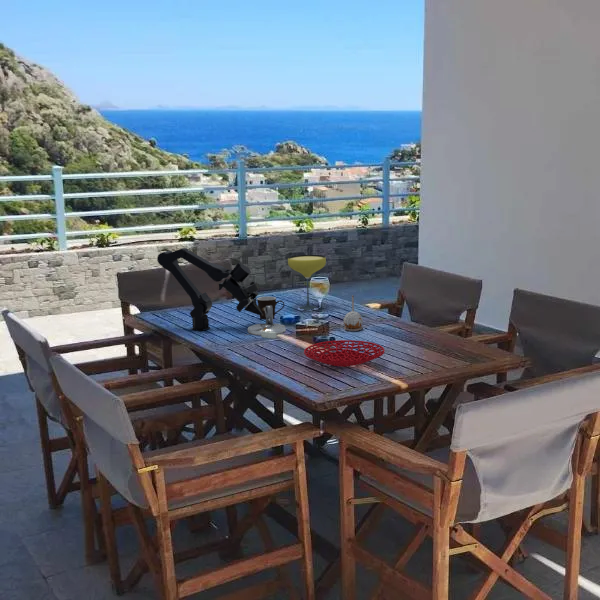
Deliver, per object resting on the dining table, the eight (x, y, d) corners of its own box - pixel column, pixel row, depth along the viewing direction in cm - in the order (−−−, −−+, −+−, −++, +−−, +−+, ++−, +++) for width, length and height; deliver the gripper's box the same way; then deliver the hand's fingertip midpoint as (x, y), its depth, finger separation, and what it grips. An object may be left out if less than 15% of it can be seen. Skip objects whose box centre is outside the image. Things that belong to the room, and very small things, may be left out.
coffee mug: (254, 321, 370) (253, 299, 368) (262, 317, 378) (261, 296, 376) (278, 322, 366) (277, 301, 364) (285, 318, 374) (285, 297, 372)
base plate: (233, 336, 344) (232, 326, 343) (261, 326, 361) (260, 317, 360) (272, 341, 333) (272, 331, 332) (299, 330, 350) (298, 321, 349)
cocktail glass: (327, 312, 385) (326, 259, 380) (289, 313, 385) (287, 260, 380) (326, 304, 402) (325, 254, 397) (290, 305, 403) (288, 255, 398)
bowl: (325, 379, 280) (325, 365, 279) (291, 359, 307) (291, 346, 306) (399, 367, 292) (399, 354, 291) (361, 349, 318) (361, 336, 317)
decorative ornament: (365, 330, 347) (364, 296, 344) (348, 332, 345) (347, 297, 342) (358, 326, 354) (357, 293, 351) (341, 328, 352) (340, 294, 349)
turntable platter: (281, 335, 338) (280, 313, 336) (243, 335, 341) (242, 313, 339) (288, 326, 353) (288, 305, 351) (252, 326, 356) (251, 305, 354)
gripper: (242, 280, 340) (269, 306, 340) (252, 272, 358) (278, 297, 358) (225, 298, 343) (251, 324, 343) (236, 290, 361) (261, 315, 361)
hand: (261, 314), depth 351 cm, fingers closed
